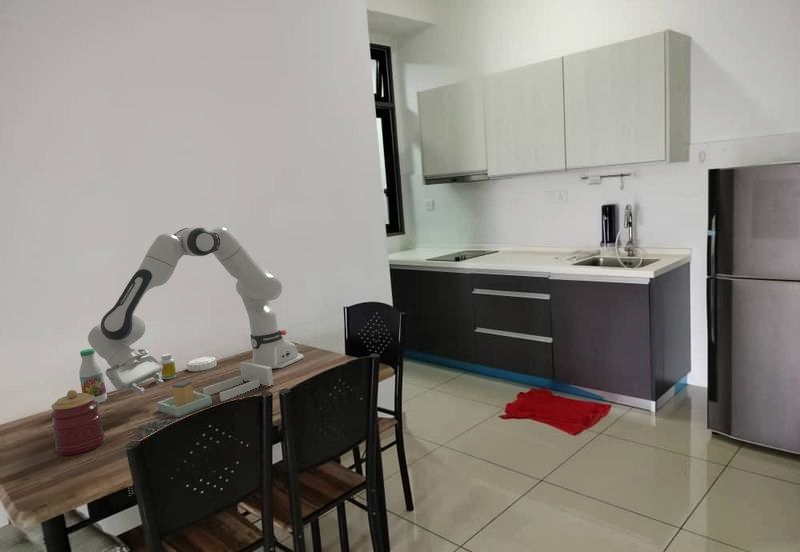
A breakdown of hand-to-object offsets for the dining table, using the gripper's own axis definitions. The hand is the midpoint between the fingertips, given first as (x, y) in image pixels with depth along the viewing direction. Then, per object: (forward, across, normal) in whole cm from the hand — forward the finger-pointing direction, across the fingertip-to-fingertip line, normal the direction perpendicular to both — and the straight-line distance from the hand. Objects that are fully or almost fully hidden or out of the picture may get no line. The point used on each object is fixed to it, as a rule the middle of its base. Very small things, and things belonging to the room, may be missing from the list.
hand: (152, 388), depth 198 cm
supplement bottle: (-9, +33, +19) cm, 39 cm away
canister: (+4, -31, +6) cm, 32 cm away
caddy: (+13, 0, -4) cm, 14 cm away
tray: (+14, 0, -4) cm, 14 cm away
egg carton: (+19, -20, -8) cm, 29 cm away
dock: (+20, +18, -10) cm, 29 cm away
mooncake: (-4, +46, +15) cm, 49 cm away
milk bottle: (-17, +5, +27) cm, 32 cm away
